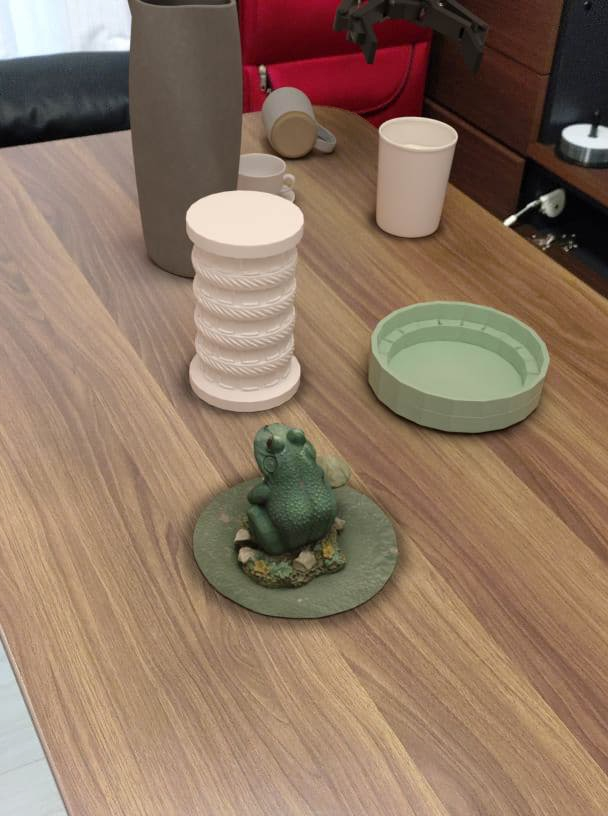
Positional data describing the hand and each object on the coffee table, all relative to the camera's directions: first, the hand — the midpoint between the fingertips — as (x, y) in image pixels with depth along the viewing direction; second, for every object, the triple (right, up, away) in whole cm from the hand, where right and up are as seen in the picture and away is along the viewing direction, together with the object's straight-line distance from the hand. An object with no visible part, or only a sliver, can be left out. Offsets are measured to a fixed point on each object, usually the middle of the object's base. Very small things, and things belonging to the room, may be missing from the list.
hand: (425, 58), depth 119 cm
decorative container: (-21, -42, -17) cm, 50 cm away
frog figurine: (-16, -59, -34) cm, 70 cm away
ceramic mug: (-16, -1, +25) cm, 30 cm away
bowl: (+1, -42, -16) cm, 45 cm away
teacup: (-21, -13, +13) cm, 28 cm away
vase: (-29, -25, 0) cm, 38 cm away
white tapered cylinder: (-1, -17, +10) cm, 20 cm away
